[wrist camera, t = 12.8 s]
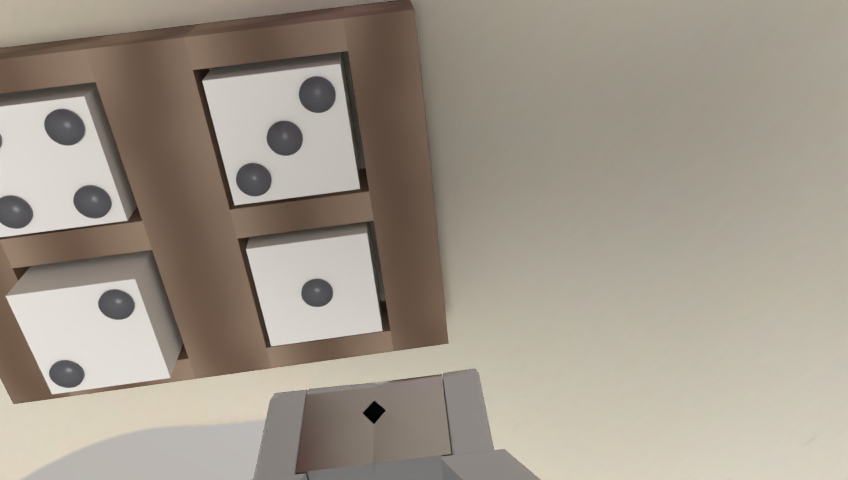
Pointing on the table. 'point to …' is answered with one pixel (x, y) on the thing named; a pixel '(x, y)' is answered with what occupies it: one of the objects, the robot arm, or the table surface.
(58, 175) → the button four dots
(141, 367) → the button two dots
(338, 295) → the button one dot
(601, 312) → the table surface
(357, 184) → the button three dots
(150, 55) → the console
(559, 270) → the table surface
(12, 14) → the table surface
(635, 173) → the table surface
